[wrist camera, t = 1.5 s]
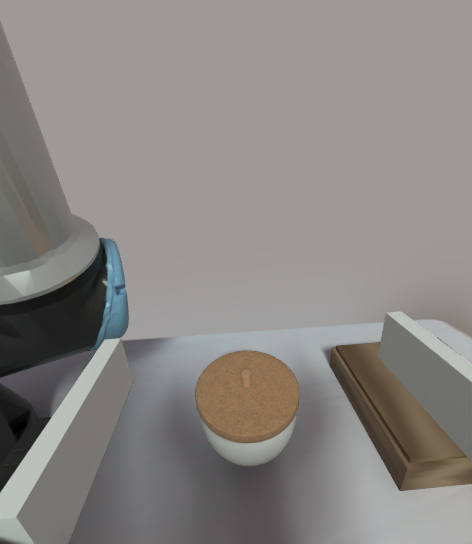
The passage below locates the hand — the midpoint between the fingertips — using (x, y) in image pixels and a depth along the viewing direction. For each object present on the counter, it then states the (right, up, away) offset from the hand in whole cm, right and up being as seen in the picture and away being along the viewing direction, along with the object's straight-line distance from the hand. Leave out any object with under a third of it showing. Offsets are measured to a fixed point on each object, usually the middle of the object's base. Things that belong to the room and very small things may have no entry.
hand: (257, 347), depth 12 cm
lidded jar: (0, -15, +16) cm, 22 cm away
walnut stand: (+22, -13, +18) cm, 31 cm away
